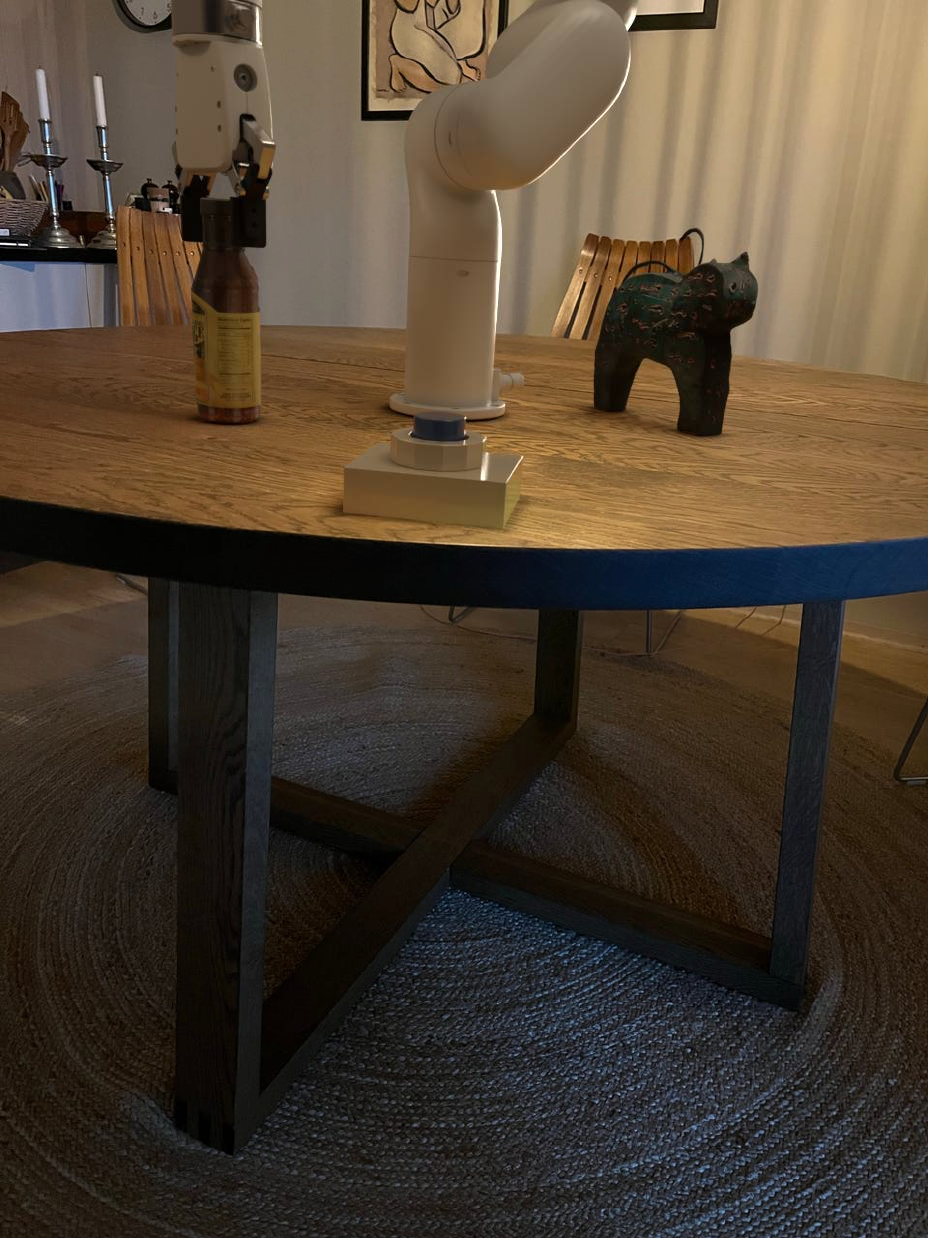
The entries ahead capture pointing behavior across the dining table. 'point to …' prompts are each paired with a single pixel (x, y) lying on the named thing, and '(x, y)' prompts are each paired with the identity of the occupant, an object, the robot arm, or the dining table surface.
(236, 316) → the sauce bottle
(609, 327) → the ceramic cat
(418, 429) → the cylinder
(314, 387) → the dining table surface
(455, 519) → the push button base
